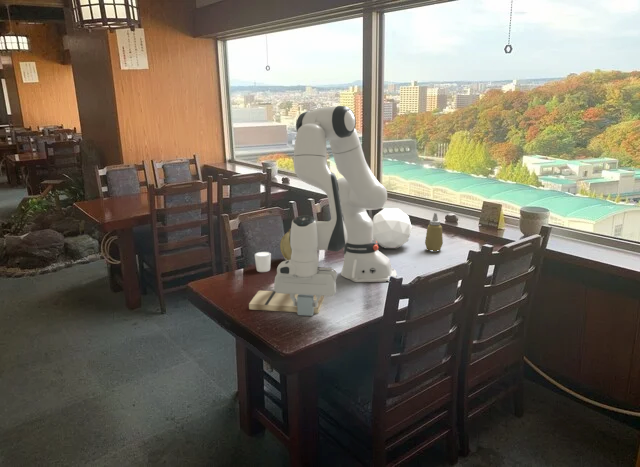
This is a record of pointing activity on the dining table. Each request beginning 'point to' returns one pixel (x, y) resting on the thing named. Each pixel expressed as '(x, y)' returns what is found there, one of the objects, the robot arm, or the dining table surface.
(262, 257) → the white cup
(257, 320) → the dining table surface
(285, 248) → the cantaloupe
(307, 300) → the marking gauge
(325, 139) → the robot arm
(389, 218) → the ball
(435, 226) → the squeeze bottle
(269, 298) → the maple board
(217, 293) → the dining table surface
